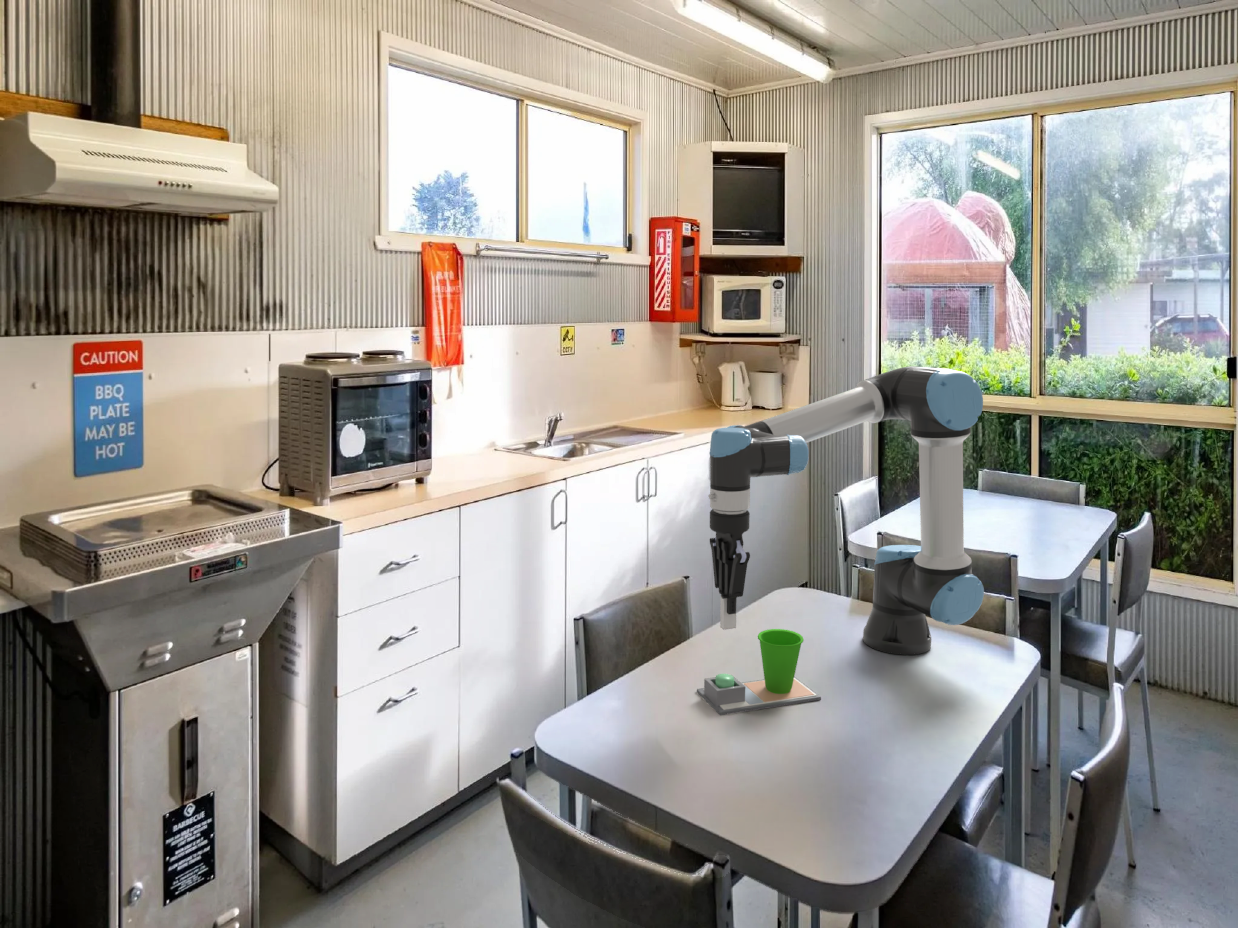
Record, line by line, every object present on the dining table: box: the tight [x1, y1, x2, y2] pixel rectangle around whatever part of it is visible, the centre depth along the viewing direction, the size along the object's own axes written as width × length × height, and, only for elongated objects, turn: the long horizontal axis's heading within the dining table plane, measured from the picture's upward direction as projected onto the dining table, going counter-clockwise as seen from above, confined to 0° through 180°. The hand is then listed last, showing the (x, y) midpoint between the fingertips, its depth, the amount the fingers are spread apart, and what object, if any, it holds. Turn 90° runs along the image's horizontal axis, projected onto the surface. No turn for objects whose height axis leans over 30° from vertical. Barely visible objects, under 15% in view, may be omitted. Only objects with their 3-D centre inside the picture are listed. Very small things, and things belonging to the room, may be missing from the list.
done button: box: [715, 673, 735, 689], centre depth 175 cm, size 4×4×3 cm
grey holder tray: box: [696, 674, 822, 716], centre depth 177 cm, size 22×11×4 cm, turn 109°
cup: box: [757, 628, 805, 694], centre depth 178 cm, size 9×9×11 cm
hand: (728, 627), depth 173 cm, fingers closed
